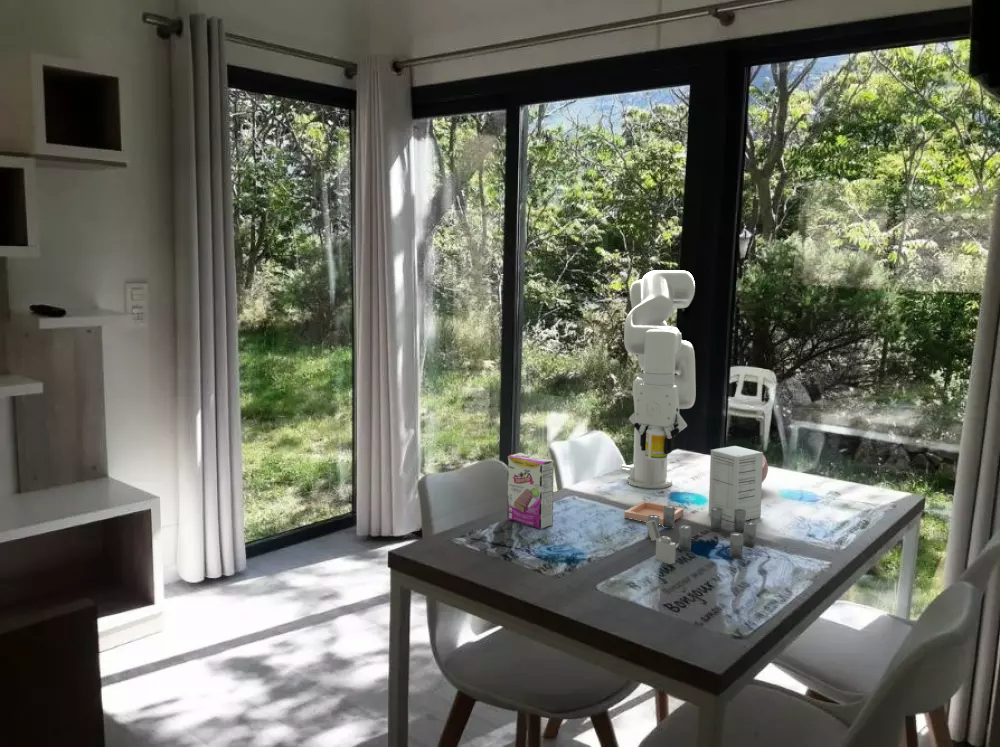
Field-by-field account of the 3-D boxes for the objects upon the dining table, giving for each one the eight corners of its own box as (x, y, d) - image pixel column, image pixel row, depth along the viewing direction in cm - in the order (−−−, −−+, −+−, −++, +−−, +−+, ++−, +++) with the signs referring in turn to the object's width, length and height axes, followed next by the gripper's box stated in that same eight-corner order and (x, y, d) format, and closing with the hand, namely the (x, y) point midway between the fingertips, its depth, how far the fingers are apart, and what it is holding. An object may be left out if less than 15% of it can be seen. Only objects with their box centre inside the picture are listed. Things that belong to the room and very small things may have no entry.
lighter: (675, 562, 176) (676, 526, 175) (670, 564, 175) (671, 528, 174) (649, 553, 181) (650, 518, 180) (644, 555, 180) (645, 520, 179)
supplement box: (761, 518, 207) (765, 452, 204) (735, 523, 202) (738, 456, 199) (733, 507, 215) (735, 444, 212) (707, 513, 210) (709, 448, 208)
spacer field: (639, 541, 189) (640, 520, 188) (677, 517, 207) (677, 497, 206) (736, 562, 176) (737, 539, 176) (767, 534, 194) (768, 514, 193)
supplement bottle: (640, 458, 205) (641, 420, 204) (654, 454, 208) (656, 417, 207) (657, 462, 201) (658, 423, 199) (671, 459, 204) (673, 421, 203)
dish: (624, 518, 205) (624, 511, 205) (643, 507, 214) (643, 501, 214) (665, 527, 199) (666, 519, 199) (683, 515, 208) (683, 508, 208)
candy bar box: (506, 520, 204) (506, 455, 201) (519, 515, 207) (520, 452, 205) (540, 530, 196) (541, 463, 194) (553, 525, 200) (554, 459, 197)
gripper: (620, 378, 203) (618, 449, 206) (686, 384, 194) (683, 459, 197) (633, 374, 210) (631, 444, 212) (698, 380, 200) (695, 453, 203)
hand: (656, 450), depth 204 cm, fingers closed on supplement bottle, 5 cm apart
